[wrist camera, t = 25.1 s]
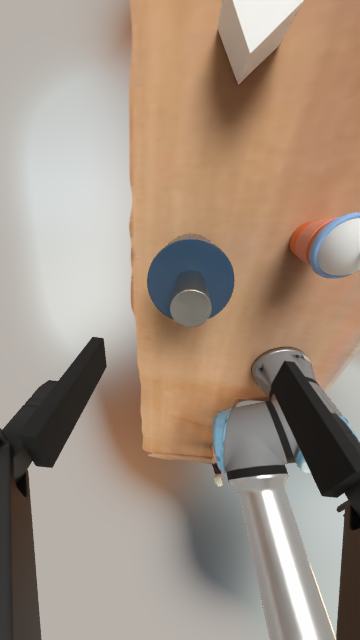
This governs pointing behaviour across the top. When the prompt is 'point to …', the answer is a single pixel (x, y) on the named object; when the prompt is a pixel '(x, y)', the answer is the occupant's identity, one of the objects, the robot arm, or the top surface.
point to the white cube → (253, 30)
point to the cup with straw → (329, 245)
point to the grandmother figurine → (216, 470)
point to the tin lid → (190, 281)
